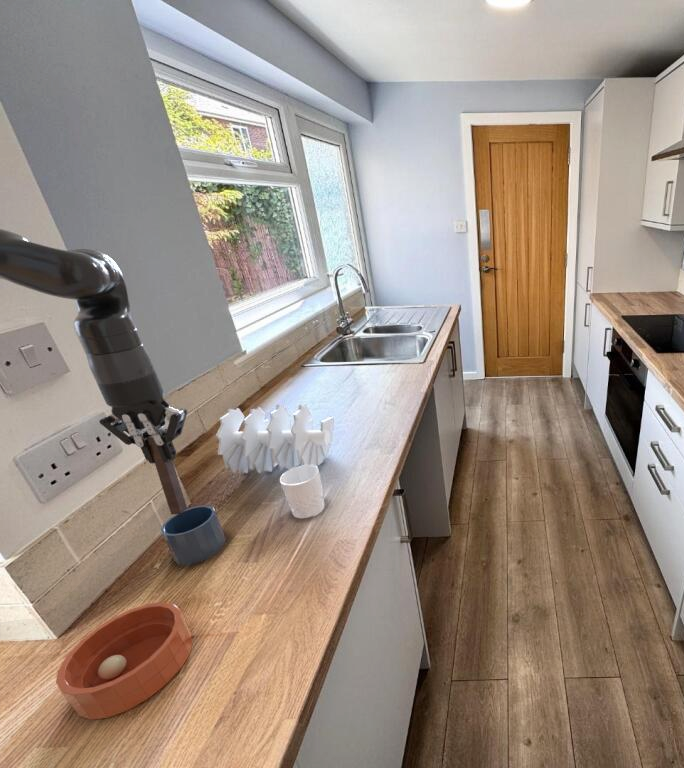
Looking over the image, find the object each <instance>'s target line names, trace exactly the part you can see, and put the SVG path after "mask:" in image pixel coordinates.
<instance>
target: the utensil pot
mask: <svg viewBox="0 0 684 768" xmlns="http://www.w3.org/2000/svg"><path fill="white" fill-rule="evenodd" d="M160 531H161V534H162V537H163V539H164V541H165V543H166V545H167V547H168V549H169V551H170V553H171V556H172V558H173V560H174V562H175V563H176V564H178V565H182V566H189V565H195V564H198V563H201V562H203V561H206V560H208V559H209V558H211V557H212V556H214V555H216V554H217V553H218V552H220V550H221V549H222V548H223V547H224V545H225V543H226V541H227V537H226V535H225V533H224V530H223V527H222V525H221V523H220V520H219V517H218V515H217V512H216V510H215V508H214V507H213V506H211V505H198V506H193V507H189V508H187V509H186V510H185V511H184V512H183V513H181V514H173V515H172V516H171V517H170V518H168V519H167V520H166V521H165V522H164V523H163V524H162V527H161V529H160Z"/></svg>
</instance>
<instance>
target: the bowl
mask: <svg viewBox="0 0 684 768" xmlns="http://www.w3.org/2000/svg"><path fill="white" fill-rule="evenodd" d="M193 644H194V640H193V634H192V630H191V629H190V626H189V625H188V623H187V621H186V619H185V617H184V614H183V612H182V610H181V609H180V608H179V607H178V606H177V605H176V604H174V603H171V602H164V601H160V602H151V603H145V604H143V605H139V606H136V607H133V608H130V609H129V610H126V611H124V612H122V613H120V614H118V615H115V616H113V617H112V618H110V619H109V620H107V621H105V622H104V623H102V624H101V625H99V626H97V627H96V628H94V629H93V630H92V631H91V632H90V633H88V634H87V635H86V636H85V637H84V638H82V639H81V640H80V641H79V642H78V643H77V644H76V645H75V646H74V647H73V648H72V650H70V652H69V653H68V654H67V655H66V656H65V657H64V659H63V661H62V662H61V665H60V666H59V668H58V669H57V673H56V679H55V680H56V681H55V684H56V686H57V688H58V689H59V691H60V693H62V695H63V696H64V698H65V699H66V701H67V702H68V703H69V705H70V707H72V709H73V710H74V711H75V713H76V714H77V715H78V716H79V717H82V718H85V719H88V720H100V719H108V718H111V717H114V716H116V715H119V714H122V713H125V712H127V711H129V710H131V709H133V708H134V707H136V706H138V705H139V704H141V703H143V702H145V701H146V700H148V699H150V698H151V697H152V696H154V695H155V694H156V693H157V692H158V691H160V690H161V689H163V687H164V686H166V685H167V684H168V683H169V682H170V681H171V680H172V678H174V677H175V675H176V674H177V673H178V672H179V671H180V670H181V669H182V667H183V665H184V664H185V663H186V661H187V659H189V658H188V657H189V656H190V654H191V650H192V647H193ZM114 655H122V656H124V657H125V659H126V666H125V669H124V670H123V671H122V672H121V673H120V674H119V675H118V676H116V677H115V678H112V679H108V680H105V679H102V678H100V677H99V675H98V669H99V667H100V665H101V664H102V662H103V661H104V660H106V659H107V658H109V657H111V656H114Z"/></svg>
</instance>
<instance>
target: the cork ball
mask: <svg viewBox="0 0 684 768" xmlns="http://www.w3.org/2000/svg"><path fill="white" fill-rule="evenodd" d="M125 666H126V659H125V657H124V656H122V655H114V656H111V657H109V658H107V659H106V660H104V661H103V662H102V664H101V665H100V667H99V669H98V675H99V677H100V678H102V679H105V680H108V679H112V678H115V677H116V676H118V675H119V674H120V673H121V672H122V671H123V670H124V669H125Z"/></svg>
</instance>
